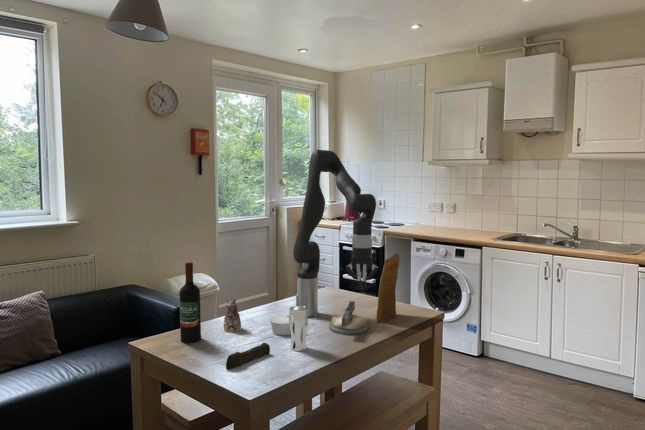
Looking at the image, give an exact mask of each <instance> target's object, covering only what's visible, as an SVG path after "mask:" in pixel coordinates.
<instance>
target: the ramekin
mask: <svg viewBox="0 0 645 430" xmlns="http://www.w3.org/2000/svg"><path fill="white" fill-rule="evenodd" d="M269 322H270V326H271V330H272V333H273V334H275V335H277V336H291V332H290V327H289V315H283V314H282V315H277V316H274V317H272V318H270V321H269Z"/></svg>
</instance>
